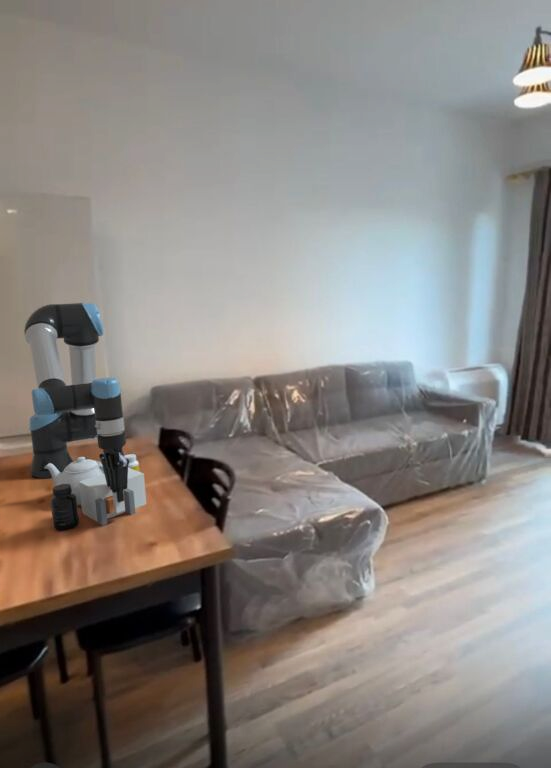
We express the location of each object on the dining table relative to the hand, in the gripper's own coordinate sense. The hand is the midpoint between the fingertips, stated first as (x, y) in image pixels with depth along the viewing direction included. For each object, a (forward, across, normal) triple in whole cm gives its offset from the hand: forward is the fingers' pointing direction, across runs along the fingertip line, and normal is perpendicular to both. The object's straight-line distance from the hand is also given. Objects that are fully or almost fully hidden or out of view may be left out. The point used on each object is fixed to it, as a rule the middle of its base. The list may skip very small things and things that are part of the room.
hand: (119, 511), depth 141 cm
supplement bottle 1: (+3, -9, -12) cm, 15 cm away
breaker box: (+2, -7, +3) cm, 8 cm away
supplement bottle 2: (+2, -24, +18) cm, 30 cm away
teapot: (+2, -25, +2) cm, 25 cm away
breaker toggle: (0, -6, 0) cm, 6 cm away
